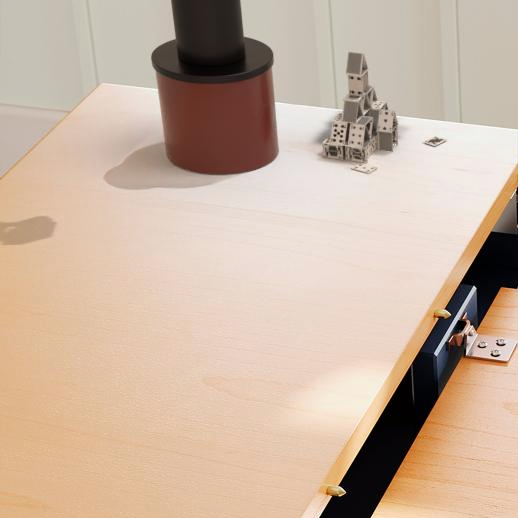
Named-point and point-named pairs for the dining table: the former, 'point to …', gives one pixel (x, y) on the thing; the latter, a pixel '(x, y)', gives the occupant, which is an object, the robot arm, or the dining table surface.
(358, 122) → the house of cards
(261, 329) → the dining table surface
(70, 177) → the dining table surface
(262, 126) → the tin
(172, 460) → the dining table surface
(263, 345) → the dining table surface
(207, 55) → the black lidded canister
